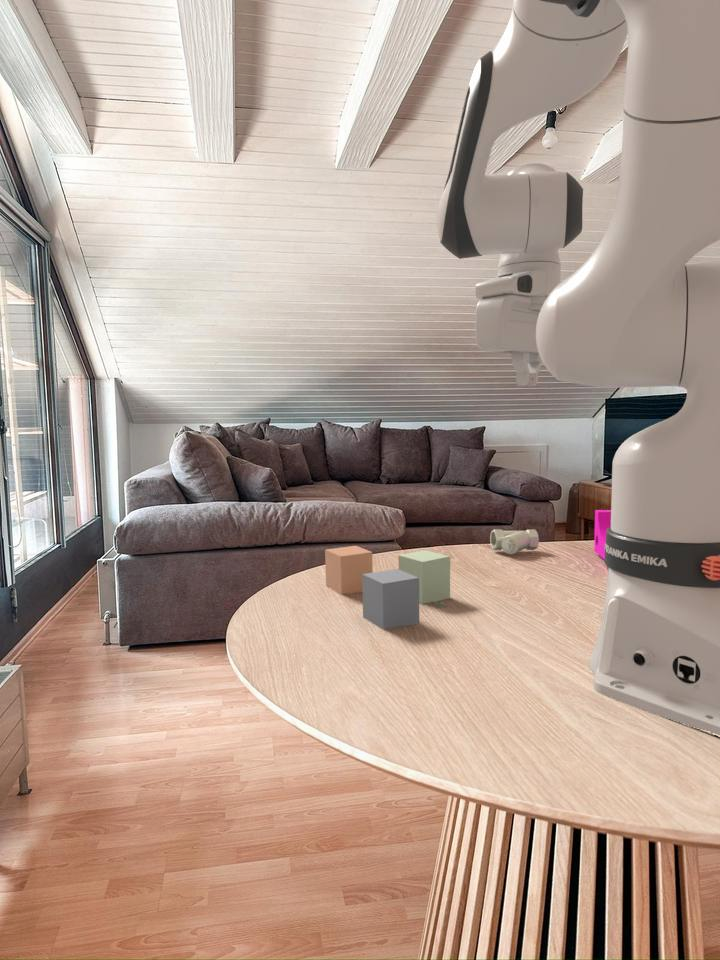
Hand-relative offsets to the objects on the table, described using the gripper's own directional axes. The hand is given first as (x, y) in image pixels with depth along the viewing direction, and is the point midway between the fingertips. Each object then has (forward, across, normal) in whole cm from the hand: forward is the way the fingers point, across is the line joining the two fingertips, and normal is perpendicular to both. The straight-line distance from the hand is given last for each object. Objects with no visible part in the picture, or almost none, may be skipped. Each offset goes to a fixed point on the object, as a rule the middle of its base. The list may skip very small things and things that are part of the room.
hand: (526, 385), depth 94 cm
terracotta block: (+29, +23, -14) cm, 40 cm away
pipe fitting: (+28, -13, -8) cm, 32 cm away
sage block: (+29, +18, -4) cm, 35 cm away
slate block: (+29, +29, 0) cm, 41 cm away
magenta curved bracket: (+30, -22, +5) cm, 37 cm away
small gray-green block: (+29, +20, 0) cm, 35 cm away
